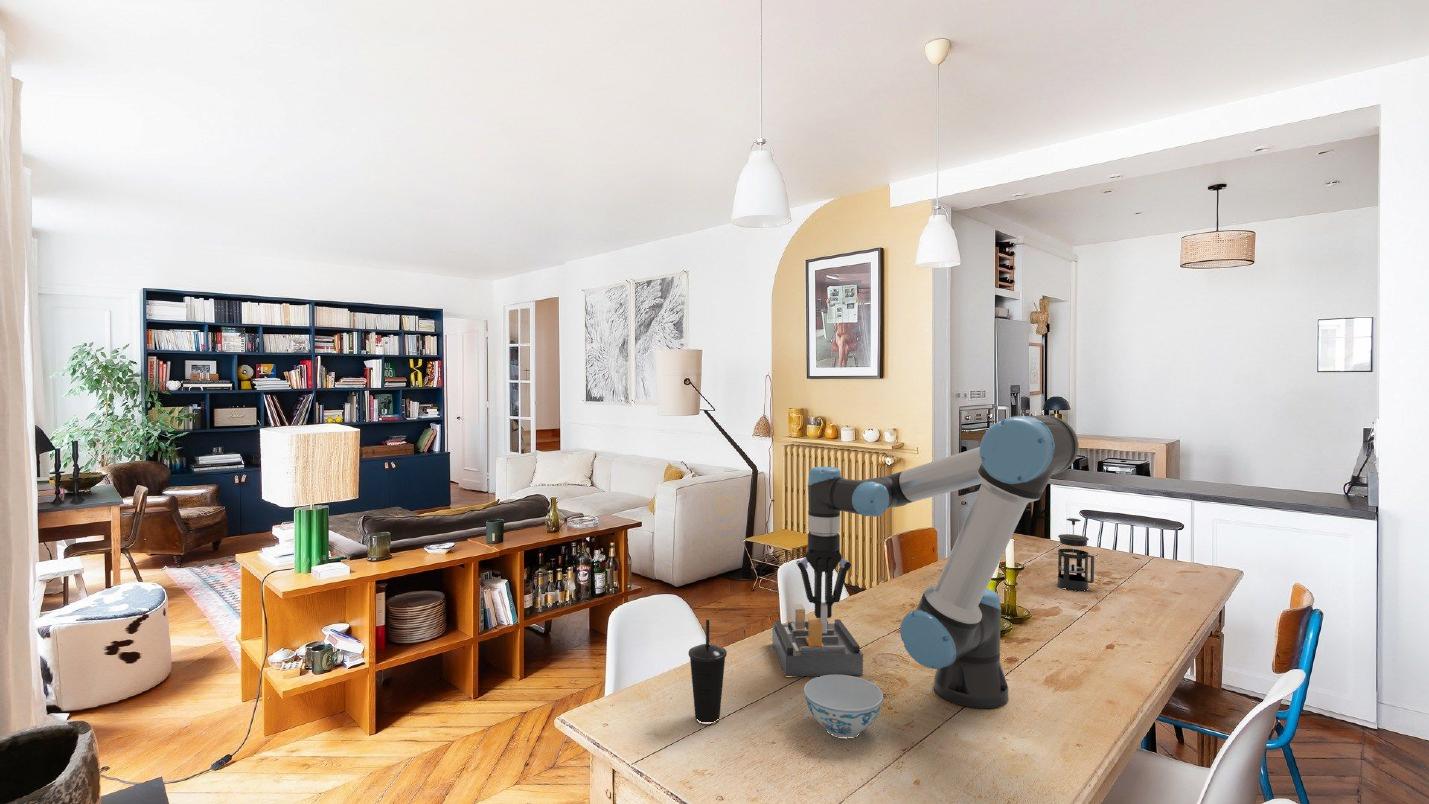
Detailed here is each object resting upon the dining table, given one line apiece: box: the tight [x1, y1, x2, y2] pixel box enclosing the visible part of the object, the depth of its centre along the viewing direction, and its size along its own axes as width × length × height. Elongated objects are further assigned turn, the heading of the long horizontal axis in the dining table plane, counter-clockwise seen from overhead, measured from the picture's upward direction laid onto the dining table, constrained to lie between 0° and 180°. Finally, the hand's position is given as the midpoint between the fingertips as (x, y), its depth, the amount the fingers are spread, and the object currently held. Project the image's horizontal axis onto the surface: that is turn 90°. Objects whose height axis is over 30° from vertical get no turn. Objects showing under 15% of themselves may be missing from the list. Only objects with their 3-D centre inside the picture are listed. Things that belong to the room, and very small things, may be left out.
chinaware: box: [803, 675, 884, 738], centre depth 129 cm, size 15×15×8 cm
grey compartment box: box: [771, 603, 864, 676], centre depth 163 cm, size 20×18×11 cm
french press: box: [1056, 517, 1095, 592], centre depth 221 cm, size 12×9×23 cm
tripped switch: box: [806, 617, 824, 646], centre depth 158 cm, size 5×3×6 cm
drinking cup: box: [688, 619, 728, 722], centre depth 133 cm, size 8×8×20 cm
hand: (822, 630), depth 158 cm, fingers closed
